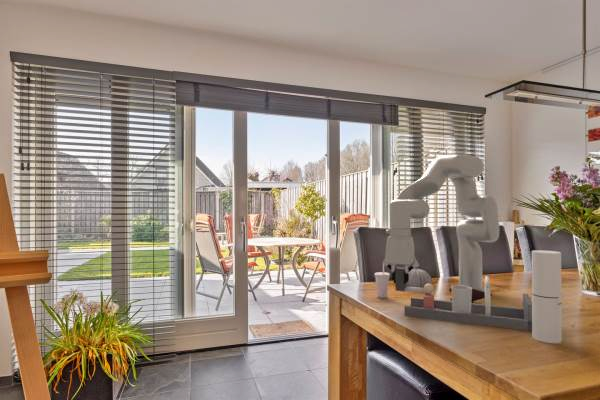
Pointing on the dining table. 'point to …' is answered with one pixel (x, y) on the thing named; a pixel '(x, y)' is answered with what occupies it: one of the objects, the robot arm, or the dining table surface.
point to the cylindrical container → (546, 296)
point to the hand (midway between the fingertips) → (400, 282)
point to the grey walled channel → (477, 308)
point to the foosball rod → (415, 288)
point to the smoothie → (382, 283)
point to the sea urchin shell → (418, 278)
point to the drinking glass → (461, 298)
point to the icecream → (475, 294)
